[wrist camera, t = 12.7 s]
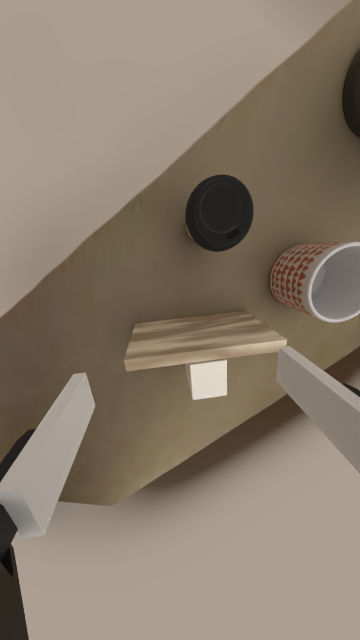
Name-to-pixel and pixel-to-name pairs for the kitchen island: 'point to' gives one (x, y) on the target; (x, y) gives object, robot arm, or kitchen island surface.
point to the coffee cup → (219, 213)
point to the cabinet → (207, 378)
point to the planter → (319, 280)
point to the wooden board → (199, 340)
